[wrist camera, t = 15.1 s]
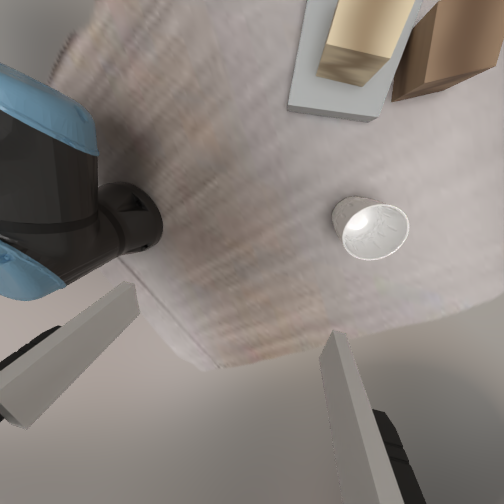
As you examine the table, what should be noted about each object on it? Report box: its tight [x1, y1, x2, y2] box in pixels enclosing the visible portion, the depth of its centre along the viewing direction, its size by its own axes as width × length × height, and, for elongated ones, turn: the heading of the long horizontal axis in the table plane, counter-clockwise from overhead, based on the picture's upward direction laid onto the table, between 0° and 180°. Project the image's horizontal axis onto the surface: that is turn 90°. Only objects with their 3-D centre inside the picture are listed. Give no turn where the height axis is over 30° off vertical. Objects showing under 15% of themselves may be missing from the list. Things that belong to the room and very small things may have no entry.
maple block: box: [316, 0, 415, 87], centre depth 19 cm, size 6×6×7 cm
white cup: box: [332, 196, 409, 260], centre depth 29 cm, size 8×8×10 cm
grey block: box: [288, 0, 423, 122], centre depth 23 cm, size 12×12×4 cm
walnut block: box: [391, 0, 504, 102], centre depth 21 cm, size 6×6×7 cm
